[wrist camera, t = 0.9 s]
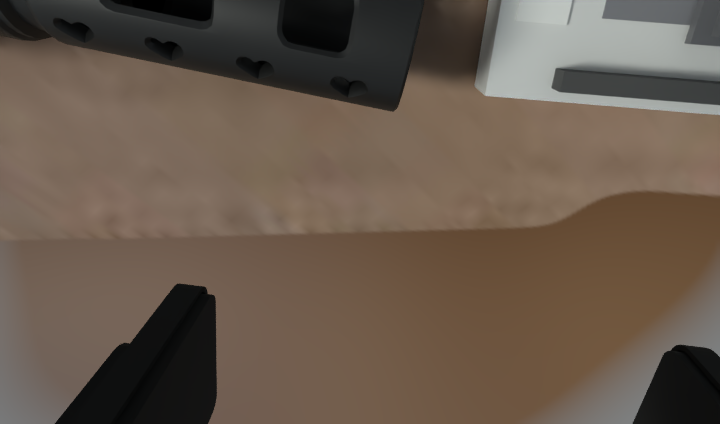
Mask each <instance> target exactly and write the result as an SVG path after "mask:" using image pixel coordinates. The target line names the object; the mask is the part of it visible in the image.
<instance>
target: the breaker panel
mask: <svg viewBox="0 0 720 424" xmlns="http://www.w3.org/2000/svg"><path fill="white" fill-rule="evenodd" d="M697 2H698V0H489V1H488V7H487V13H486V19H485V25H484V31H483V37H482V43H481V49H480V56H479V62H478V68H477V74H476V80H475V87H476V88H477V89H478V90H479V91H480V92H482V93H483V94H484V95H485V96H495V97H507V98H519V99H531V100H543V101H555V102H568V103H580V104H592V105H604V106H616V107H628V108H641V109H653V110H665V111H677V112H689V113H702V114H714V115H720V105H710V104H698V103H685V102H673V101H661V100H649V99H636V98H624V97H612V96H600V95H587V94H575V93H563V92H558V91H556V90H554V89H552V88H551V87H552V83H553V78H554V74H555V69H556V68H559V69H572V70H584V71H596V72H609V73H621V74H634V75H646V76H658V77H671V78H683V79H695V80H708V81H720V46H707V45H694V44H685V39H686V36H687V33H688V30H689V27H690V24H691V21H692V18H693V15H694V12H695V8H696V5H697Z"/></svg>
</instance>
